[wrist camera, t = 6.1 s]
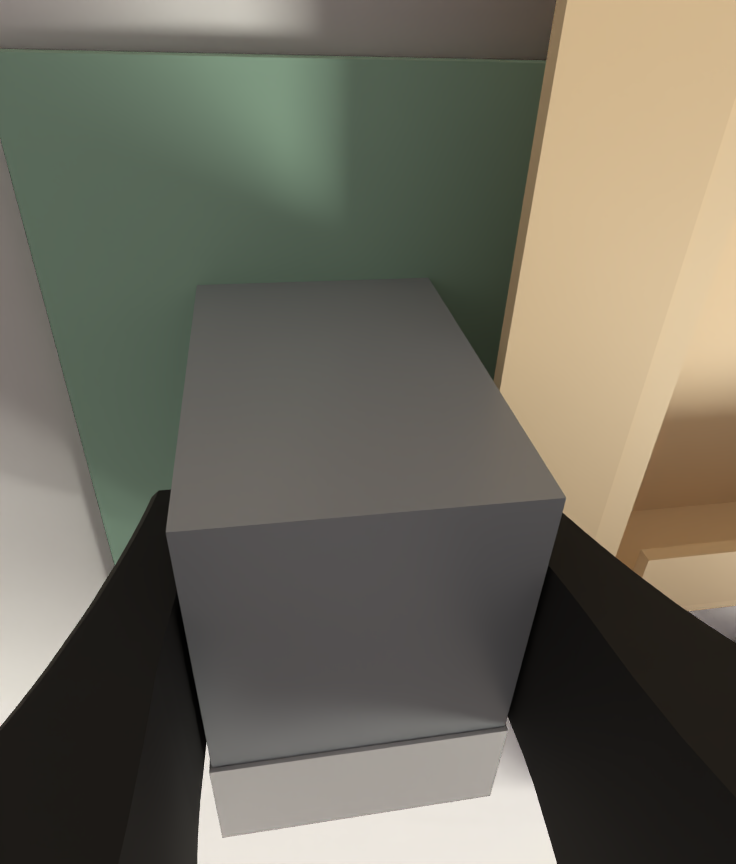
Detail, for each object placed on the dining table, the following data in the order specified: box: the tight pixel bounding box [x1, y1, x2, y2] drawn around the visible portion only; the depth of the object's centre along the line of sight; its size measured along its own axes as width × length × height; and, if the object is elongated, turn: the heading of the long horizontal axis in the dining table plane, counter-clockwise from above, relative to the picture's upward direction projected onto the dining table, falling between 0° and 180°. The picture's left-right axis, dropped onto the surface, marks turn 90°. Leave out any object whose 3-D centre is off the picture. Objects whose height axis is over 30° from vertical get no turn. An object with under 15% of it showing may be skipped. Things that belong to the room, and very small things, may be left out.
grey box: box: [166, 278, 566, 838], centre depth 11 cm, size 6×4×6 cm
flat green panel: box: [0, 49, 546, 565], centre depth 13 cm, size 12×9×1 cm
